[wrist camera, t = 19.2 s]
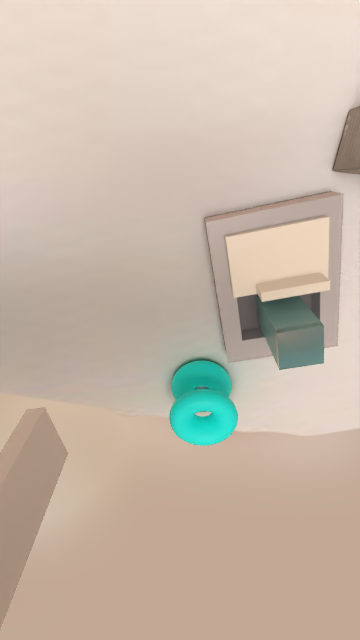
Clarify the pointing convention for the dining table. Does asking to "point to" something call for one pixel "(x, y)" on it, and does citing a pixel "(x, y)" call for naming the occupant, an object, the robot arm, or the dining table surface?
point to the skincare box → (350, 145)
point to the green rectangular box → (291, 332)
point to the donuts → (202, 404)
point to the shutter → (280, 260)
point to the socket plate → (242, 312)
